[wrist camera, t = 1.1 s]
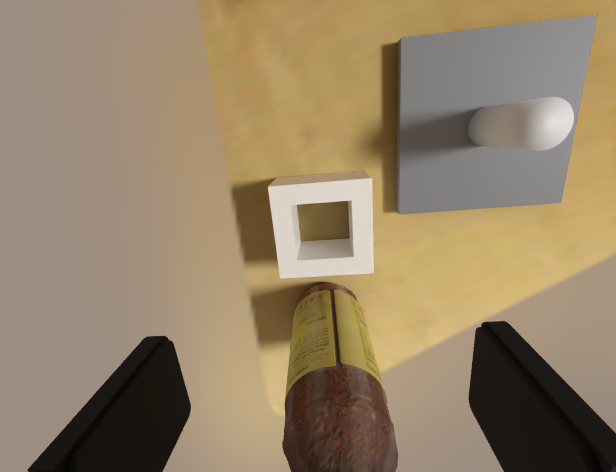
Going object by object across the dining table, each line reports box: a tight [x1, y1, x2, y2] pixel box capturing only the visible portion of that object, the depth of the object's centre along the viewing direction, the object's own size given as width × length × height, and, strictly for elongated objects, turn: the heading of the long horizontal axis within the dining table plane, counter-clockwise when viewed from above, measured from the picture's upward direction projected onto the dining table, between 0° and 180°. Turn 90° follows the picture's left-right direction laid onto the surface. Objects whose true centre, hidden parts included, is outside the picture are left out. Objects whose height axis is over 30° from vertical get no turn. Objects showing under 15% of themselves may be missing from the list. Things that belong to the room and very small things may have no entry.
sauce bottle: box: [282, 283, 398, 472], centre depth 18 cm, size 7×6×20 cm
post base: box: [396, 15, 597, 214], centre depth 19 cm, size 12×12×7 cm
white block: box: [268, 171, 374, 278], centre depth 23 cm, size 7×7×4 cm
